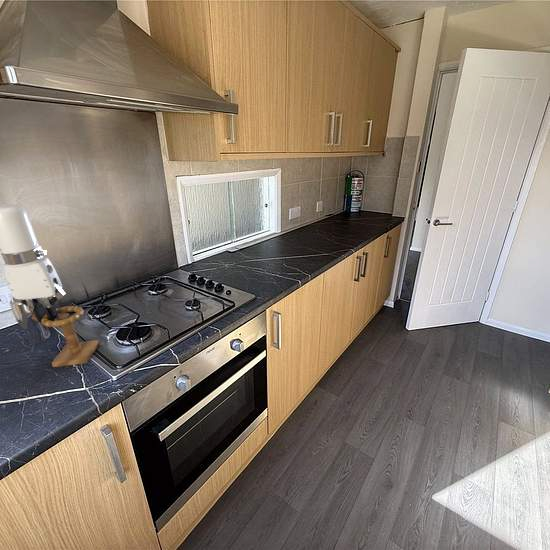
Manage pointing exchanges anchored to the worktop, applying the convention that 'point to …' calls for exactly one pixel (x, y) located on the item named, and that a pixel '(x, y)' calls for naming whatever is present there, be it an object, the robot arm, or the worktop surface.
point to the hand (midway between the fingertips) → (48, 318)
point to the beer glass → (30, 323)
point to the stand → (73, 347)
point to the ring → (66, 321)
